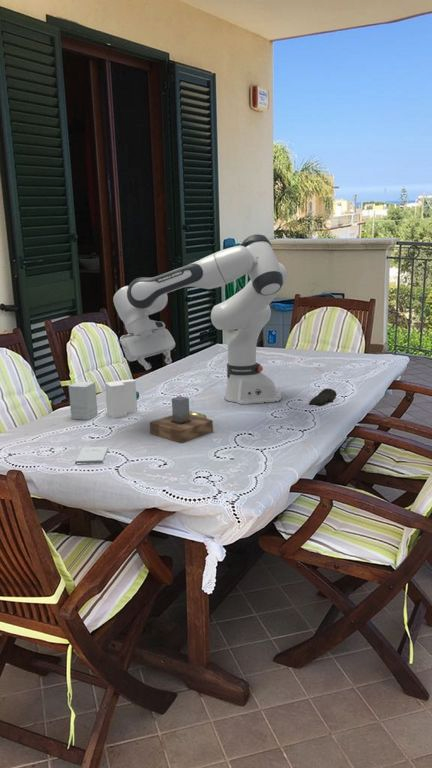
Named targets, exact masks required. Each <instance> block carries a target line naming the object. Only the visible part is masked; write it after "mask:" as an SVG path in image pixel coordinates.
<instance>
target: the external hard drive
mask: <svg viewBox="0 0 432 768" xmlns="http://www.w3.org/2000/svg"><path fill="white" fill-rule="evenodd" d="M107 451H109V446H83V447H82V448H81V450H80V452H79V453H78V456H77V457H76V458H75V462H74V464H77V463H103V464H104V462H105V459H106V457H105V456H107V454H108V452H107ZM103 461H104V462H103Z"/></svg>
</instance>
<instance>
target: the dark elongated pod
mask: <svg viewBox="0 0 432 768" xmlns="http://www.w3.org/2000/svg"><path fill="white" fill-rule="evenodd" d="M337 395H338V394H337V391H336V389H335V390H334V389H332V388H323V390H321V391H320V392H318V394H317V395H315V396H314V397H312V398H311V400H310V401H309V403H308V405H309V406H311V405H315V406H317V407H321V405H322V406H324V404H325V403H326V404H327V403H333V402H334V401H335V400H336V399H337V398H336V396H337ZM334 399H335V400H334ZM333 400H334V401H333ZM326 404H325V405H326Z"/></svg>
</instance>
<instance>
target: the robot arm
mask: <svg viewBox="0 0 432 768" xmlns="http://www.w3.org/2000/svg"><path fill="white" fill-rule="evenodd" d="M278 260H279V259H278V258H277V256H276V253H275V251H274V249H273V247H272V243H271V242H270V240H269V238H267V237H266V235H264V234H259V233H258V234H252V235H250V236H248V237H246V238H245V239H244V240H243V241H242V242H241V243H240V245H235V246H232V247H228V248H224V249H221V250H218V251H216V252H214V253H211V254H209V255H207V256H205V257H203V258H200V259H199V260H196V261H194V262H191V263H189V264H187V265H184V266H181V267H178V268H175V269H173V270H170V271H167V272H164V273H161V274H159V275H156V276H152V277H146V276H145V277H143V276H142V277H137V278H135V279H133V280H132V281H130V283H129V285H125V286H123V287H120V288H118V290H117V291H116V292H115V293H114V296H113V299H112V300H113V301H112V302H113V306H114V307H115V310H116V312H117V314H118V317H119V318H120V320H121V321H122V322H123V324H124V328H125V330H126V332H127V334H123V335H121V336H120V338H119V344H120V345H121V347H122V350H123V353H124V356H125V358H126V360H127V361H129V362H134V361H137V362H138V363H139V364H140V365H141V366H142V367H144V369H145V371H149V370H150V369H152V364H151V363H150V362H147V361H146V359H145V358H148V357H152V356H156V355H160V354H163V355H164V356H165V359H164V362H165V364H166V365H169V364H171V363H172V362H173V360H172V358H171V351H172V350H173V349H174V348H175V347H176V342H175V339H174V337H173V336H172V334H171V333H170V331H169V330H168V329H167V328H166V324H165V322H163V321H157V320H153V319H151V318H149V316H150V315H151V316H152V315H153V314H157V313H159V312H161V311H163V310H164V309H165V308H166V306H167V305H168V300H169V296H168V294H169V293H171V292H172V293H173V292H174V291H176V290H180V289H183V288H191V287H192V288H199V289H206V290H212V289H217V288H220V287H223V286H225V285H228V284H230V283H233V282H235V281H236V280H238V279H240V278H241V277H243V276H245V275H246V274H247V275H248V277H249V279H250V280H249V281H248V282H247V283H246V284H245V286H244V287H243V288H241V290H239V291H238V292H236V293H235V294H234V295H232V296H231V297H229V298H228V299H226V300H224V301H222V302H220V303H218V304H216V305H213V307H212V309H211V313H210V320H211V324H212V325H213V327H215V329H217V330H222V331H236V330H237V332H236V335H235V336H234V337H233V338H232V339H231V340H230V341H229V342H228V345H227V364H226V377H227V385H226V390H225V395H224V399H225V400H226V401H228V402H233V403H237V404H240V405H251V404H263V403H264V402H265V403H275V401H277V402H279V400H280V401H281V400H282V394H281V393H280V392H279V391H278V390H277V389H276V384H275V382H274V381H273V380H272V379H271V378H270V377H268V376H267V375H266V374H264V373H263V372H262V371H264V370H263V369H264V367H263V366H262V365H261V364H260V363H259V362H256V361H257V344H258V339H259V335H260V334H261V332H262V330H263V328H264V327H265V325H267V324H268V322H269V321H270V320H271V316H272V310H271V307H270V304H271V303H272V301H273V300H274V299H275V298H276V297H277V296H278V294H280V292H281V290H283V288H284V286H285V284H286V282H287V281H288V276H289V275H288V270H287V268H286V267H285V265H284V264H282V263H281V262H279V261H278Z"/></svg>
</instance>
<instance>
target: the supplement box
mask: <svg viewBox="0 0 432 768" xmlns="http://www.w3.org/2000/svg"><path fill="white" fill-rule="evenodd" d="M68 395H69V405H70V406H69V407H70V417H71V419H72V420H83V421H84V420H85V421H89V420H91V419H93V418H95V417H96V416H98V415H99V413H98V401H97V389H96V382H95V381H76V382H73V383H72V384H70V385H68Z"/></svg>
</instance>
